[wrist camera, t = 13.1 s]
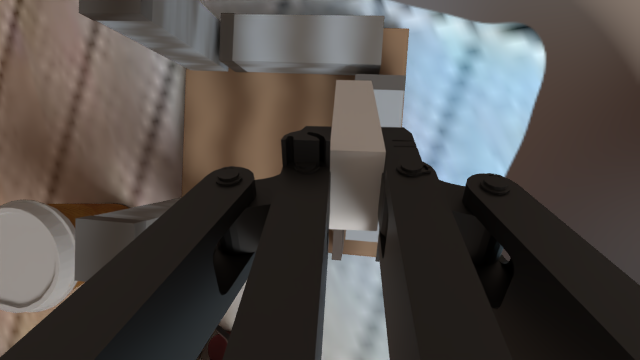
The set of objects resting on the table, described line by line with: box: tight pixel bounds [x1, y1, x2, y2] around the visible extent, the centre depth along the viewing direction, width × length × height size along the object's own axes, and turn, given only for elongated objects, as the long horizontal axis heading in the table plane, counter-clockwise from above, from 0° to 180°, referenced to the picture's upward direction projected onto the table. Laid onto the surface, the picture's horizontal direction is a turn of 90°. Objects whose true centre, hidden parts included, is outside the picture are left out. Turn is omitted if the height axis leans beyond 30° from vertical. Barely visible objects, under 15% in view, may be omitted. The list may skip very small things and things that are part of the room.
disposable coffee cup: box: [0, 200, 129, 313], centre depth 34 cm, size 10×10×12 cm
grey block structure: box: [74, 0, 409, 282], centre depth 29 cm, size 23×22×16 cm
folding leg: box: [345, 74, 406, 242], centre depth 32 cm, size 4×4×14 cm
